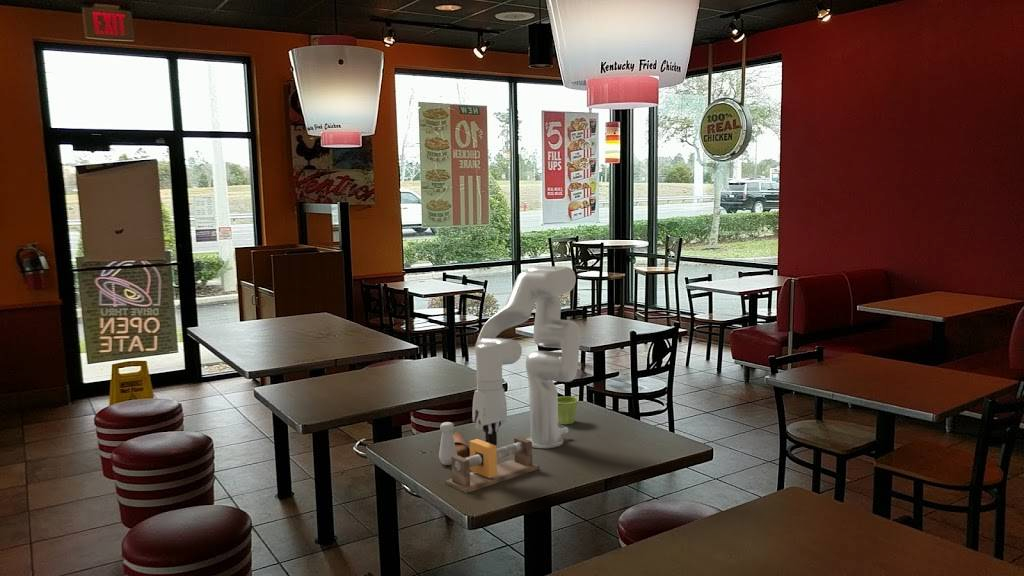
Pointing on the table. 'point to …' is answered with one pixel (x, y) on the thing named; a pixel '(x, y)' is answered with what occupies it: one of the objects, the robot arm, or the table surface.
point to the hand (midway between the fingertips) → (491, 445)
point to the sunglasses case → (460, 445)
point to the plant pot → (566, 409)
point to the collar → (484, 457)
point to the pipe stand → (504, 470)
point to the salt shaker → (447, 443)
